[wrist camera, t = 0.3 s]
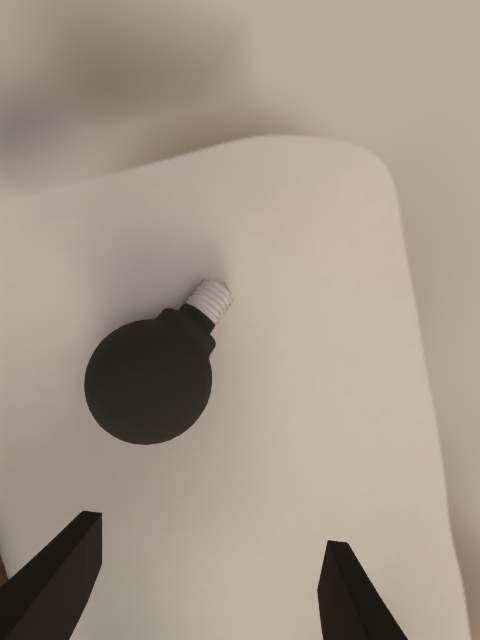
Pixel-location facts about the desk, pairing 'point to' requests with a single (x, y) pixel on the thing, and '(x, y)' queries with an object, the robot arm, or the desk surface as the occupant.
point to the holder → (2, 574)
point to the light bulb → (157, 370)
